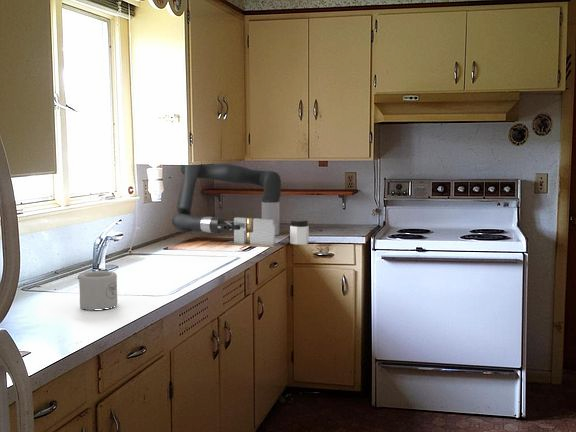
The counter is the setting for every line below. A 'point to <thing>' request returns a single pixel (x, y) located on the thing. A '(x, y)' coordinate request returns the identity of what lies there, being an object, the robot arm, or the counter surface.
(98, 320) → the counter surface
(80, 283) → the mug
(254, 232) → the fixed leaf
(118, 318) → the counter surface
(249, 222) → the brushed metal block
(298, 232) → the jar
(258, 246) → the jig board
